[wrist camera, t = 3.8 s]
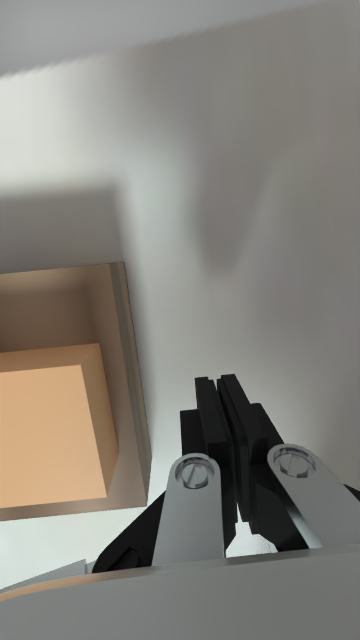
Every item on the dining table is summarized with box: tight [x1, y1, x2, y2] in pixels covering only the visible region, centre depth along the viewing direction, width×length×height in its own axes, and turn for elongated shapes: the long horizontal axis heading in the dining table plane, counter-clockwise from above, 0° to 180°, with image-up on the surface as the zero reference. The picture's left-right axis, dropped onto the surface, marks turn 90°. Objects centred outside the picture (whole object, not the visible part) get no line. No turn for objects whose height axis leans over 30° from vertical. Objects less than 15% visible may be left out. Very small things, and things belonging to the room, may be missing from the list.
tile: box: [0, 343, 119, 508], centre depth 11 cm, size 9×6×2 cm, turn 95°
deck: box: [0, 262, 152, 521], centre depth 14 cm, size 13×13×4 cm
